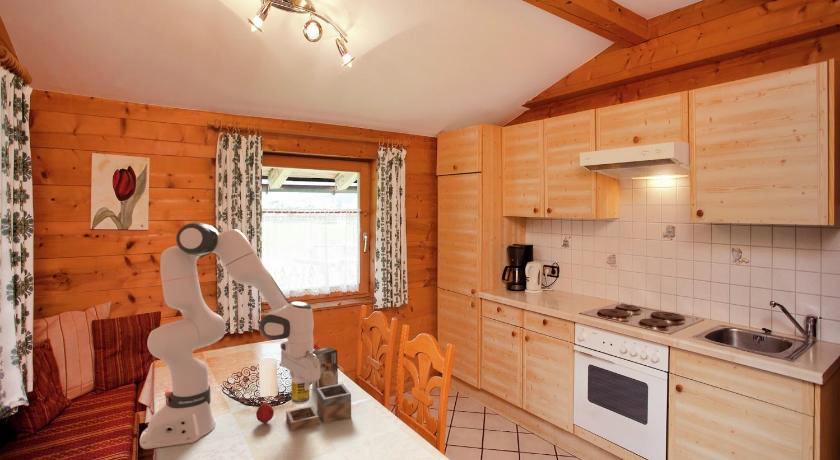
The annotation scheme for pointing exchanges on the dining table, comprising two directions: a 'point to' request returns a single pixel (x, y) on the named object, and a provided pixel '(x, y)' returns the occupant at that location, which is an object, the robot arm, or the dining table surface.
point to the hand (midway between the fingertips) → (300, 385)
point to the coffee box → (326, 367)
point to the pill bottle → (299, 390)
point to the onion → (265, 413)
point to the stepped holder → (323, 408)
